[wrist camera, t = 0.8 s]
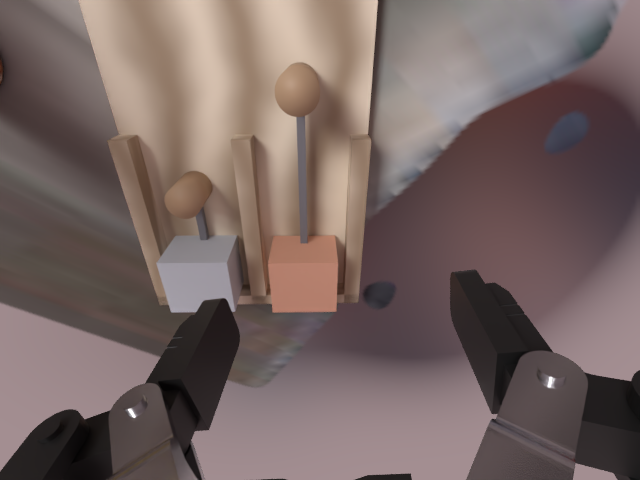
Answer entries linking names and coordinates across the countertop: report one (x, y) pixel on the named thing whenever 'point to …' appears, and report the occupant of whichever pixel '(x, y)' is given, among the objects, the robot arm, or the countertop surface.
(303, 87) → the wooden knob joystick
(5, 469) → the robot arm
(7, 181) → the countertop surface
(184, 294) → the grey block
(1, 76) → the sauce bottle
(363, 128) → the wooden backboard
